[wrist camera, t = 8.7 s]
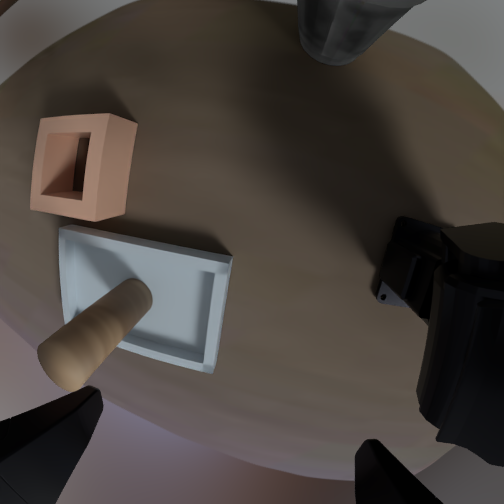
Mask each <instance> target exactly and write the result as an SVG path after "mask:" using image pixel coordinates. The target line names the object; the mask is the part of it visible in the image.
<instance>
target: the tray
mask: <svg viewBox="0 0 504 504" xmlns="http://www.w3.org/2000/svg"><path fill="white" fill-rule="evenodd" d="M232 260H233V256H228V255H223V254H218V253H213V252H207V251H202V250H197V249H192V248H187V247H182V246H177V245H172V244H167V243H162V242H157V241H152V240H147V239H142V238H137V237H132V236H127V235H122V234H117V233H112V232H108V231H103V230H98V229H93V228H88V227H83V226H78V225H74V224H71V225H67V226H64V227H60V228H59V267H60V283H61V295H62V305H63V313H64V321H65V324H67V323H68V322H69V321H71V320H72V319H73V318H74V317H76V316H77V315H78V314H80V313H81V312H82V311H84V310H85V309H86V308H88V307H89V306H90V305H92V304H93V303H94V302H96V301H97V300H98V299H100V298H101V297H102V296H104V295H105V294H107V293H108V292H109V291H111V290H112V289H113V288H115V287H116V286H118V285H119V284H120V283H122V282H123V281H125V280H126V279H129V278H135V279H138V280H140V281H142V282H143V283H145V284H146V285H147V287H148V288H149V289H150V291H151V294H152V298H153V303H152V307H151V308H150V310H149V311H148V312H147V313H146V314H145V315H144V316H143V317H142V319H141V320H140V321H139V322H138V323H137V324H136V325H135V326H134V327H133V328H132V329H131V331H130V332H129V333H128V334H127V335H126V336H125V337H124V338H123V339H122V341H121V342H120V343H119V344H118V345H117V347H120V348H122V349H125V350H128V351H131V352H134V353H137V354H141V355H144V356H147V357H150V358H154V359H157V360H160V361H164V362H167V363H171V364H175V365H178V366H182V367H186V368H190V369H194V370H198V371H202V372H206V373H211V374H213V371H214V368H215V365H216V362H217V356H218V349H219V343H220V336H221V329H222V323H223V316H224V310H225V304H226V297H227V291H228V285H229V279H230V273H231V266H232Z"/></svg>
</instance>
